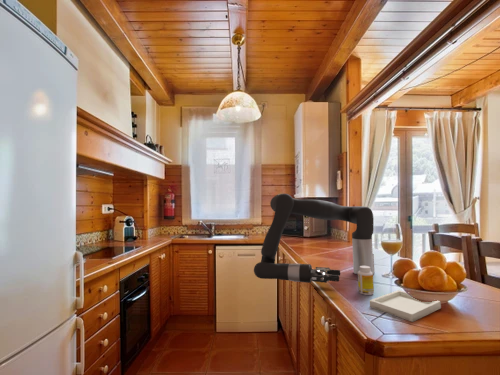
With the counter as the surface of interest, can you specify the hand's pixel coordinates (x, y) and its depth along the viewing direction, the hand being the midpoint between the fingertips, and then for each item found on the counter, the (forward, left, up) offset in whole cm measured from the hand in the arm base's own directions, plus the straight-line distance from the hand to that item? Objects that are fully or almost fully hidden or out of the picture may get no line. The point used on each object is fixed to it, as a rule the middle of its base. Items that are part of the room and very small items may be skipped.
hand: (339, 275), depth 108 cm
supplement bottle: (-6, +8, -6) cm, 11 cm away
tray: (-4, +24, -6) cm, 25 cm away
